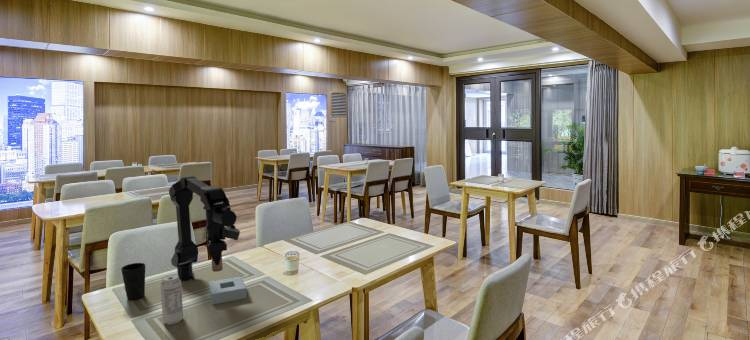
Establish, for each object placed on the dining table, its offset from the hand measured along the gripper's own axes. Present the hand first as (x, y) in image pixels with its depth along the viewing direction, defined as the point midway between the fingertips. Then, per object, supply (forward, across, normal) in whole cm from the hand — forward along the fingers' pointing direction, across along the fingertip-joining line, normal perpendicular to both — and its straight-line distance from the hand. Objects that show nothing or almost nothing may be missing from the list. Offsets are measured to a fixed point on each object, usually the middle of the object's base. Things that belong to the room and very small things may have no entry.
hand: (217, 263), depth 149 cm
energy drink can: (+13, -13, +15) cm, 24 cm away
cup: (+13, +12, +28) cm, 33 cm away
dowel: (+2, 0, 0) cm, 3 cm away
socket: (+13, 0, -3) cm, 13 cm away
